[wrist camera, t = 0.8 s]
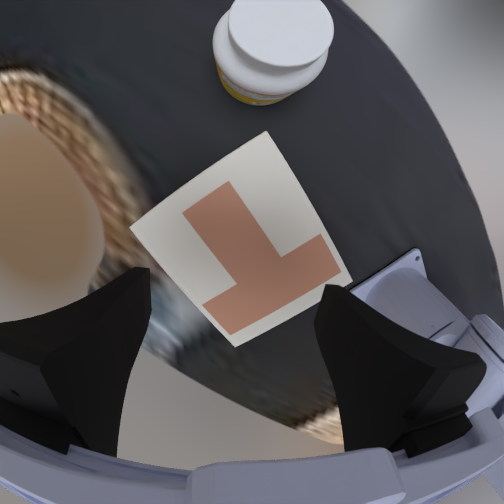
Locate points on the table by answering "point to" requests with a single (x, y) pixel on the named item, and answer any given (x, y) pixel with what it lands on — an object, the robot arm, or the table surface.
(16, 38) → the table surface
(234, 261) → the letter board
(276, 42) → the supplement bottle
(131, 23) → the table surface
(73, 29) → the table surface
